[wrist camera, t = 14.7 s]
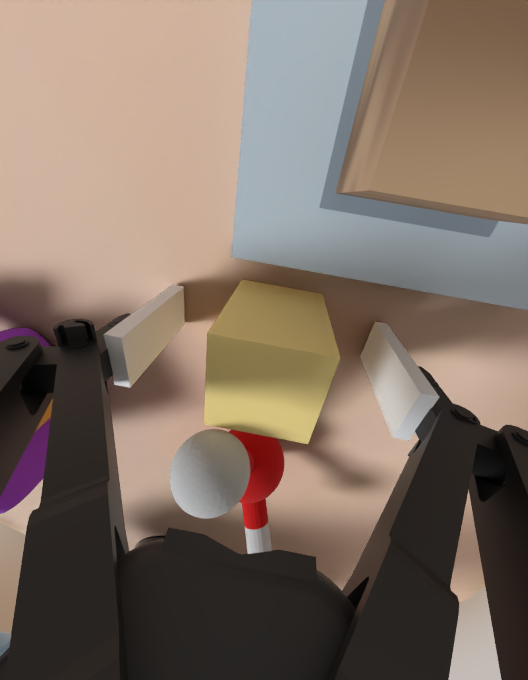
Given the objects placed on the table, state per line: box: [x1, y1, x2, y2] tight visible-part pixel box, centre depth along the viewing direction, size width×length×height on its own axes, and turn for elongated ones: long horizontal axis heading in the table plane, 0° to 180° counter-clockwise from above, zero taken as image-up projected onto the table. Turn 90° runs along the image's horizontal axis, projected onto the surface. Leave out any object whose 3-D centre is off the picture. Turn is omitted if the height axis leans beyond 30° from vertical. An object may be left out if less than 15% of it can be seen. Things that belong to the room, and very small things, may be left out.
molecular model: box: [170, 429, 284, 554], centre depth 18 cm, size 18×6×10 cm, turn 10°
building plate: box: [231, 0, 528, 310], centre depth 10 cm, size 14×16×1 cm
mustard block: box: [204, 279, 340, 444], centre depth 13 cm, size 5×5×7 cm
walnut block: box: [336, 0, 528, 224], centre depth 7 cm, size 7×7×6 cm
